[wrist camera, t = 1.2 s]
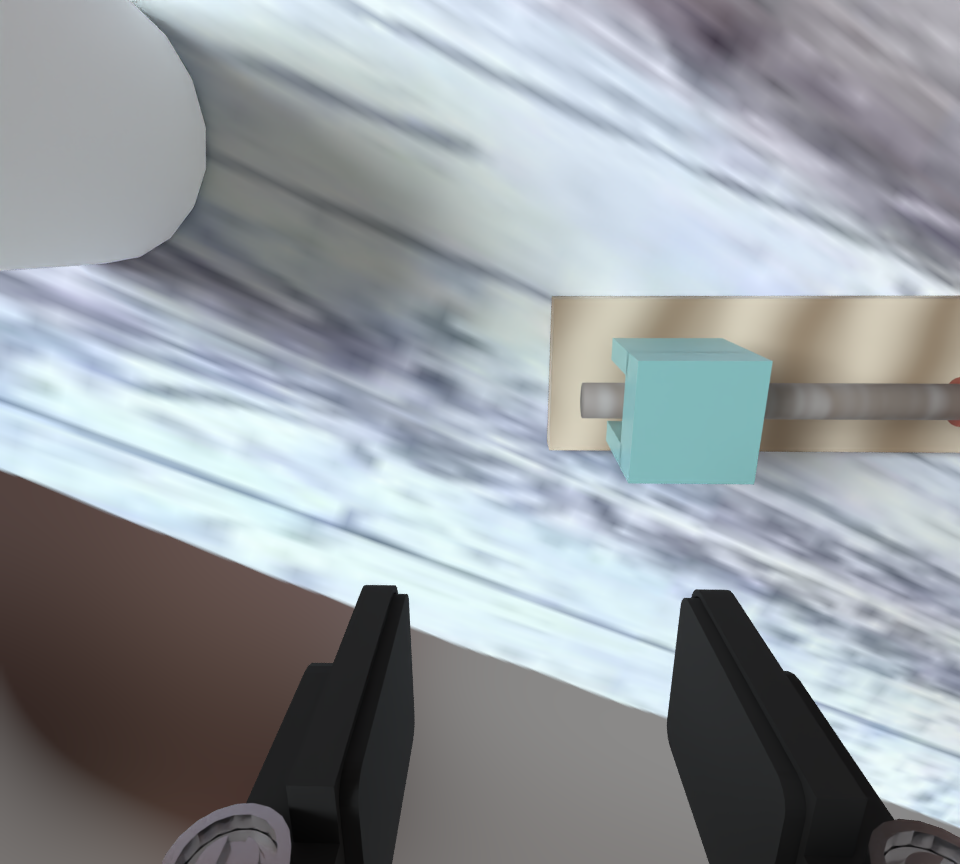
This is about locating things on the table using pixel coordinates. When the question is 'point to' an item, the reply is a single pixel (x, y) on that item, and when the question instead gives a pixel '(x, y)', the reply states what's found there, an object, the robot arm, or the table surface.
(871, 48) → the table surface
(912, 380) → the wooden slide rail
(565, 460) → the table surface
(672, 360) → the sleeve
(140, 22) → the white jar
